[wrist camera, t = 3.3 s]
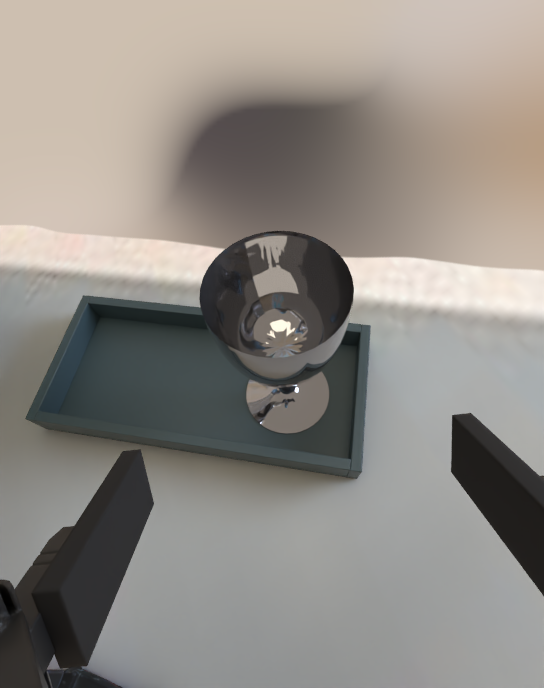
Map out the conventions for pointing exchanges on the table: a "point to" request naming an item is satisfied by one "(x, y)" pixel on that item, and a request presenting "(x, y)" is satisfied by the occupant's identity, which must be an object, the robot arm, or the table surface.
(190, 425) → the tray
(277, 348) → the wine glass
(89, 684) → the handheld console
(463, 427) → the robot arm
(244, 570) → the table surface
